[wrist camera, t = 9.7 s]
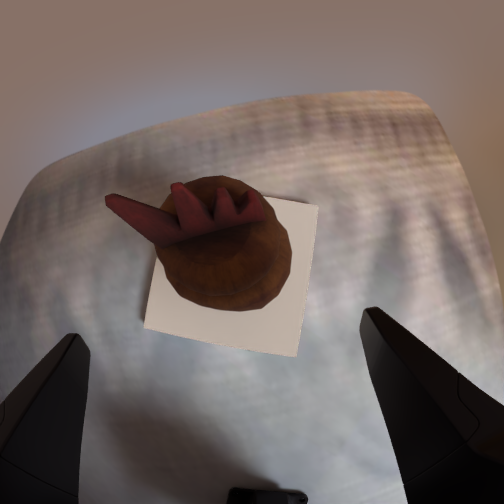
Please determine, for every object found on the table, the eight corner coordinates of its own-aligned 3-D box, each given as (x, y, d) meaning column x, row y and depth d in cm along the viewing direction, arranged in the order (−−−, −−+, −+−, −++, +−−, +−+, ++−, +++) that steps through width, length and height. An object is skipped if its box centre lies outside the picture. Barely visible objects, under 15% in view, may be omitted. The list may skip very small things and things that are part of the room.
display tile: (294, 355, 21) (296, 357, 20) (148, 326, 21) (143, 327, 20) (316, 210, 23) (318, 205, 22) (177, 188, 23) (174, 184, 22)
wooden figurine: (180, 302, 21) (37, 282, 6) (193, 223, 22) (100, 84, 7) (276, 316, 20) (331, 333, 6) (286, 234, 21) (342, 94, 7)
